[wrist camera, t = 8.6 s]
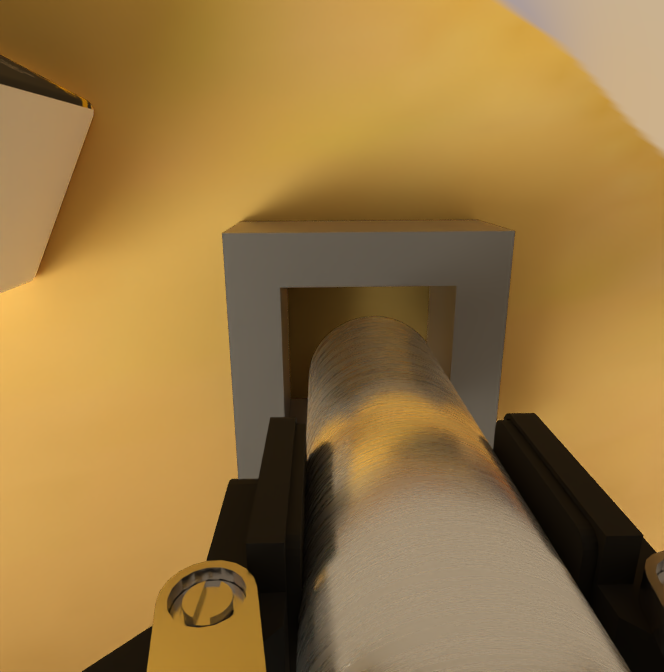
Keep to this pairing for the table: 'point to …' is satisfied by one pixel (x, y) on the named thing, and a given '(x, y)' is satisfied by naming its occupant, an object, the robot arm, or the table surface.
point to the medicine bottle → (34, 164)
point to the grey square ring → (363, 271)
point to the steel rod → (423, 529)
